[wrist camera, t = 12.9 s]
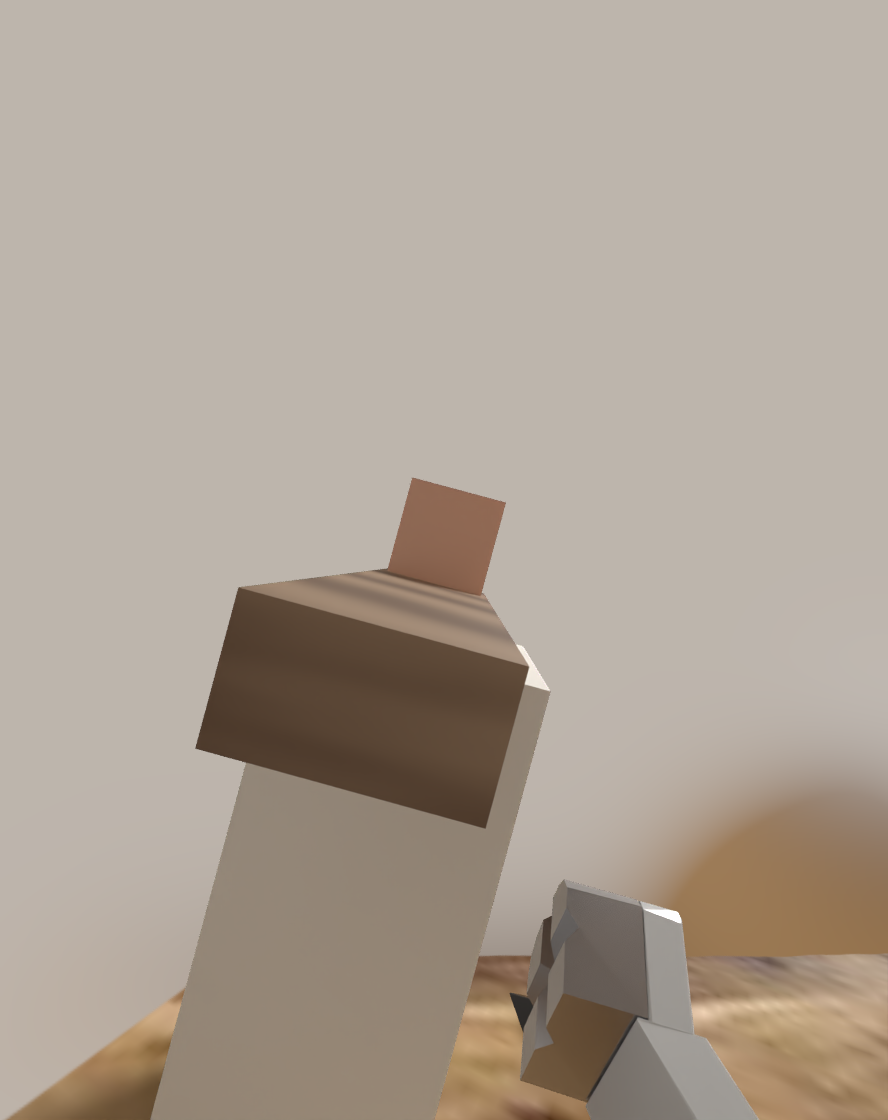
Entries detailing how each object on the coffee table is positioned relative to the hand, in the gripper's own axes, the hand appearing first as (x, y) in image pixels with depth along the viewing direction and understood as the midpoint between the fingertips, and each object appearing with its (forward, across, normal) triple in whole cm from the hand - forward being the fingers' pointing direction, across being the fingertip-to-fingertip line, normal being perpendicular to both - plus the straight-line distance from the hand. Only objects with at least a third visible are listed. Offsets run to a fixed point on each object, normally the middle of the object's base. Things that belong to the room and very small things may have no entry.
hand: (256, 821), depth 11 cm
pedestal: (+11, +1, -36) cm, 37 cm away
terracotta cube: (+24, 0, -10) cm, 26 cm away
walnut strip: (+13, +1, -7) cm, 14 cm away
